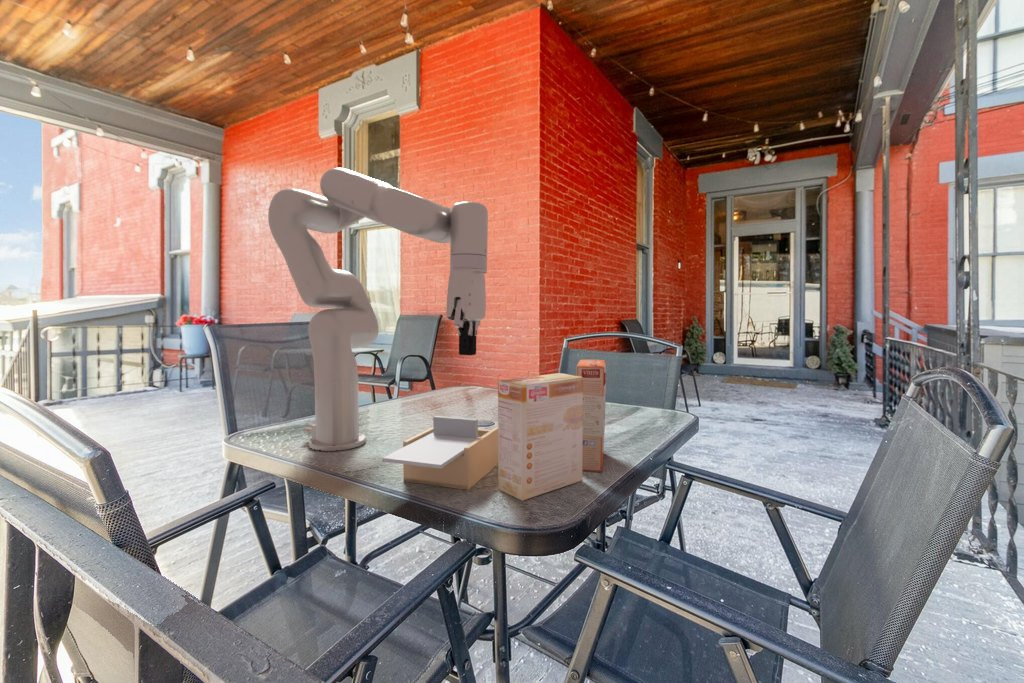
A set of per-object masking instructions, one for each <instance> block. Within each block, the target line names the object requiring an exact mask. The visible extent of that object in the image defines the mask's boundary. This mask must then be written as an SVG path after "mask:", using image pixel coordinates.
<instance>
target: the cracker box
mask: <svg viewBox="0 0 1024 683" xmlns="http://www.w3.org/2000/svg"><path fill="white" fill-rule="evenodd" d="M575 368H576V371H575V373H576V374H575V376H580V377H583V450H582V454H583V455H582V472H583V471H584V472H595V473H602V472H603V464H604V452H605V451H604V449H605V448H604V447H605V427H606V426H605V424H606V399H607V398H606V393H607V365H606V360H604V359H588V358H587V359H580V360H579V361H578V362H577V365H576V367H575Z"/></svg>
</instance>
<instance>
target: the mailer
mask: <svg viewBox="0 0 1024 683" xmlns="http://www.w3.org/2000/svg"><path fill="white" fill-rule="evenodd" d="M431 433H434V429H433V426H432V427H430V428H428V429H426V430H424V431H422V432H419V433H417V434H415V435H414V436H412V437H409V438H407V439H406V440H404V441H402V448H403V447H405V446H407V445H409V444H411V443H413V442H415V441H417V440H419V439H421V438H423V437H425V436H427V435H429V434H431ZM478 437H480V438H478V439H477V440H475V441H474V442H472V443H471V444H469V445H468V446H466V447H465V448H464V453H463V454H462V455H460V456H459V457H457V458H456V459H454V460H453V461H451V462H450V463H448V464H447V465H446V466H444V467H443V468H441V469H440V468H431V467H423V466H415V465H407V464H402V466H403V468H402V471H403V472H402V473H403V482H410V483H415V484H421V485H422V484H423V485H428V486H429V485H430V486H435V487H436V486H438V487H445V488H451V489H452V488H453V489H461V490H470V489H472V488H473V486H475V485H476V484H477V483H479V482H480V481H481V479H482V478H484V477H486V475H488V474H489V472H491V470H493V469H494V468H495V467H496V466H498V425H497V426H495V427H494V428H492V429H482V428H481V429H480V428H478Z"/></svg>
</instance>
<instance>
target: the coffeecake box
mask: <svg viewBox="0 0 1024 683" xmlns="http://www.w3.org/2000/svg"><path fill="white" fill-rule="evenodd" d="M497 421H498V422H497V426H498V464H497V468H498V469H497V474H498V476H497V477H498V478H497V479H498V480H497V482H498V487H497V488H498V489H497V490H499V491H501V492H502V493H504V494H508V495H509V496H512V497H513V498H516V500H520V501H523V502H524V501H526V500H530V499H531V498H534V497H538V496H540V495H541V496H542V495H543V494H546V493H549V492H550V493H551V492H552V491H555V490H558V489H562V488H564V487H567V486H570V485H572V484H576V483H579V482H582V481H583V470H582V455H583V454H582V450H583V377H580V376H576V375H572V374H569V373H568V374H567V373H563V372H562V373H561V372H560V373H559V372H557V373H550V374H541V375H533V376H522V377H517V378H516V377H515V378H508V379H501V380H500V379H499V380H498V381H497Z"/></svg>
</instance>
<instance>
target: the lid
mask: <svg viewBox="0 0 1024 683" xmlns="http://www.w3.org/2000/svg"><path fill="white" fill-rule="evenodd" d="M432 417H433V418H432V419H433V426H432V427H433V429H434V433H431V434H429V435H427V436H425V437H423V438H421V439H419V440H417V441H415V442H413V443H411V444H409V445H407V446H405V447H403V446H402V447H401V448H399V449H396V450H395V451H393V452H390V453H389V454H387V455H385V456H384V457H382V458H381V461H382V462H383V463H384V462H385V463H393V464H398V465H399V464H401V465H403V464H407V465H415V466H423V467H431V468H440V469H441V468H443V467H444V466H446V465H447V464H448V463H450V462H451V461H453V460H454V459H456V458H457V457H459V456H460V455H462V454H463V453H464V448H465V447H466V446H468V445H469V444H471V443H472V442H474V441H475V440H477V439H478V438H480V437H478V429H479V418H468V417H457V416H444V415H435V416H432Z"/></svg>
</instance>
